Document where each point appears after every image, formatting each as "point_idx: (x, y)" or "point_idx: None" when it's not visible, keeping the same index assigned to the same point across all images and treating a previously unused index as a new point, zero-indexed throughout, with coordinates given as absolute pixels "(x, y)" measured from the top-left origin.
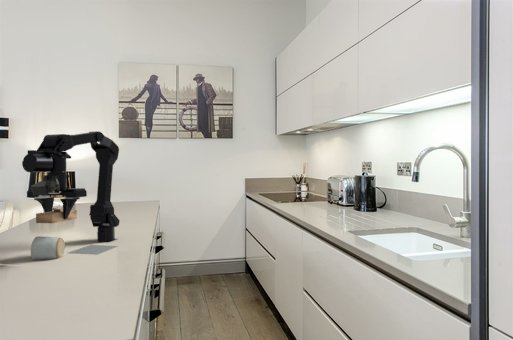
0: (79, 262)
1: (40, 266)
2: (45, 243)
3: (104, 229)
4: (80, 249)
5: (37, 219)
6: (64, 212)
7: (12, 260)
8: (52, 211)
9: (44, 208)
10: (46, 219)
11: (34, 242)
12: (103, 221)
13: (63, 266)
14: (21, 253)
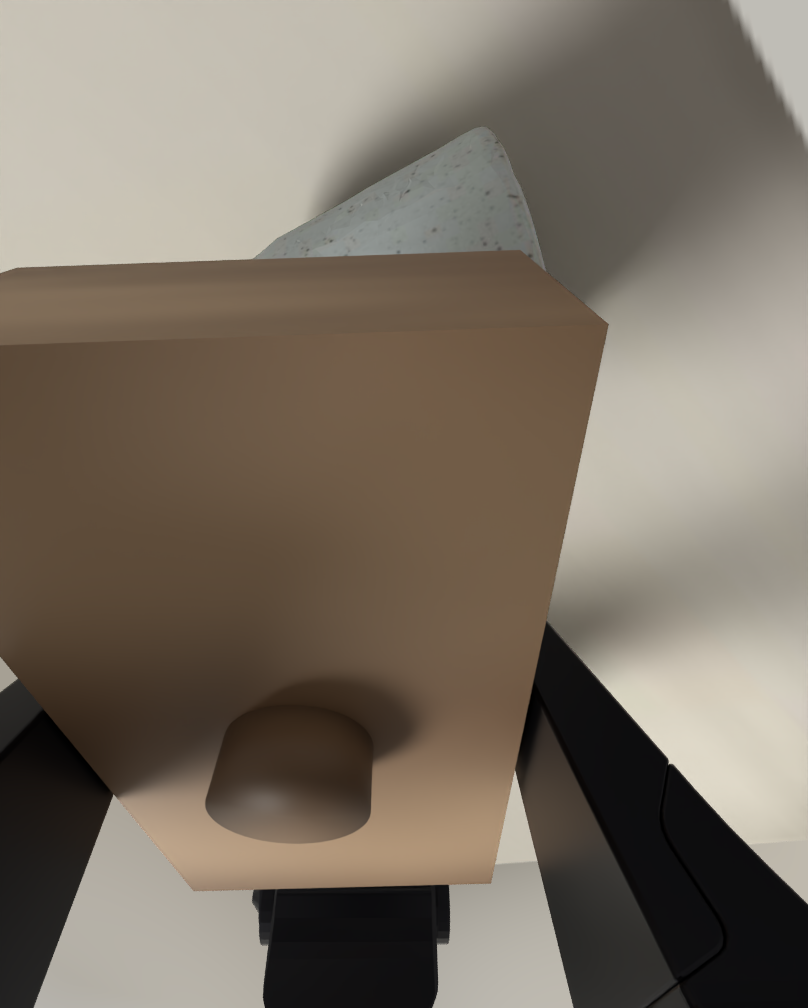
0: (33, 263)
1: (259, 24)
2: (345, 243)
3: None
4: None
5: (484, 267)
6: (7, 709)
7: (735, 188)
8: (448, 752)
9: (638, 788)
10: (156, 288)
11: (479, 181)
12: None
13: (24, 87)
14: (781, 414)
